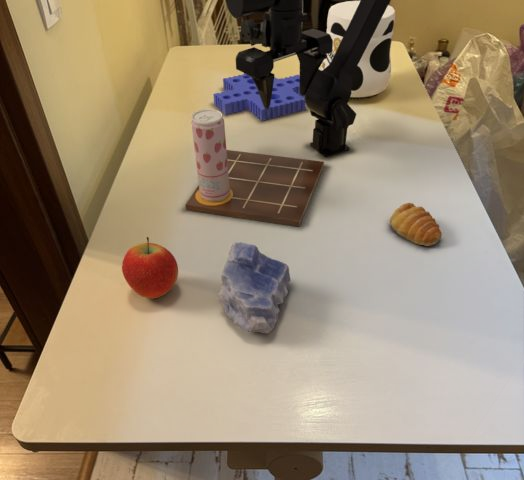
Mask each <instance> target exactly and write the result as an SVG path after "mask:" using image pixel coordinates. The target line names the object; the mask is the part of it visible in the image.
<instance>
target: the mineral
mask: <svg viewBox="0 0 524 480" xmlns="http://www.w3.org/2000/svg"><path fill="white" fill-rule="evenodd" d="M220 279H221V286H220V291H219V292H218V293H217V294H218V295H217V297H218V299H219V302H220V303H221V304H222V306H223V307H224V313H225V315H226V316H227V317H229V319H230V320H232V321H233V323H234V325H237V326H238V327H240V328H241V329H243V330H244V331H245V332H246V333H255V332H258V333H262V334H269V333H270V332H272V330H274V327H275V325H276V323H277V322H278V319H279V314H280V309H279V306H278V305H279V304H280V305H281V304H283V303H284V298H286V297H287V296H288V293H289V291H288V289H287V288H288V285H289V284H290V283H291V281H292V280H291V279H292V278H291V275H290V267H289V265H288V264H287V263H285V262H283V261H280V260H278V259H274V258H272V257H269V256H267V255H266V254H264V253H262V252H261V251H260V250H259V247H258V246H257V245H256V244H251V243H247V242H246V243H245V242H241V241H240V242H232V245H231V246H230V249H229V251H228V256H227V257H226V260H225V263H224V265H223V267H222V271H221V274H220Z"/></svg>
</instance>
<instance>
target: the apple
mask: <svg viewBox="0 0 524 480" xmlns="http://www.w3.org/2000/svg"><path fill="white" fill-rule="evenodd" d="M149 240H150V238H149V236H147V237H146V241H147V242H142V243H138V244H137V243H136V245H133V246H132V247H130V248H129V249H128V250H127V252H126V253H125V255H124V256H123V260H122V263H121V272H122V275H123V277H124V279H125V281H126V283H127V284H128V286H129V287H130V288H131V289H132V290H133V291H134V292H135V293H136V294H138V295H139V296H141V297H143V298H145V299H156V298H157V299H158V298H160V297H162V296H164V295H166V294H167V293H168V292H169V291H171V290H172V288H173V287H174V286H175V284H176V282H177V280H178V278H179V277H178V276H179V266H178V262H177V259H176V257H175V256H174V254H172V253H171V251H170V250H169V249H167V248H166V247H164V246H162V245H161V244H158V243H153V242H150V241H149Z"/></svg>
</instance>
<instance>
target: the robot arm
mask: <svg viewBox="0 0 524 480" xmlns="http://www.w3.org/2000/svg"><path fill="white" fill-rule="evenodd" d="M359 1H360V3H359V5H358V7H357V9H356V11H355V13H354V15H353V18H352V20H351V22H350V24H349V26H348V28H347V30H346V32H345V34H344V36H343V38H342V40H341V42H340V44H339V46H338V49H337V51H336V53H335V55H334V57H333V59H332V61H331V63H330V64H329V65H328V66H327V67H326V68H325V69H323V70H322V71H321V69H320V68H321V65H322V62H323V61H324V59H326V58H327V54H328V53H331V52H332V47H333V40H332V38H331V36H330V34H328V33H327V32H324V31H322V30H320V29H317V28H310V29H307V30H304V31H303V23H305V22H308V19H309V14H308V13H307V12H304V0H225V4H226V7H227V10H228V13H230V15H231V16H232V17H233V18H234V19H241V18H244V17H249V16H253V15H258V14H262V13H263V21H262V22H259V23H256V22H255V19H254V18H250V19H247V20H246V19H245V20H243V21H240V36H241V40H242V41H243V42H244V43H247V42H249V43H250V46H251V47H250V48H247V49H244V50H241V51H238V52H237V54H236V56H235V70H237V71H239V72H241V73H242V74H246V75H249V76H251V78H252V79H253V81H254V83H255V85H256V87H257V90H258V92H259V95H260V98H261V100H262V103H263V106H264V108H266V109H269V107H270V103H271V97H272V90H273V83H274V77H276V76H275V73H273V72H272V71H273V70H274V68H275V67H274V66H275V65H274V64H275V62H278V61H281V60H284V59H287V58H290V57H293V56H296V57H297V60H298V62H299V75H300V94H302V95H305V94H306V95H305V96H304V98H305V100H306V109H308V110H309V114H310V116H311V117H314V118H315V120H314V127H313V130H312V131H313V132H312V142H310V143H309V146H310V148H312V149H314V151H315V152H317V153H318V154H319V155H321V156H322V157H324V158H329V157H333V156H336V155H339V154H342V153H346V152H349V151H350V150H351V147H349V146H348V145H347V135H348V129H349V126H352V125H354V123H355V120H356V117H357V112H356V111H354V109H353V108H352V107H351V106H350V105H349V101H350V100H351V99H350V96H351V89H352V76H353V73H354V71H355V70H356V68H357V66H358V64H359V62H360V60H361V58H362V56H363V54H364V52H365V50H366V48H367V46H368V44H369V42H370V40H371V38H372V36H373V34H374V32H375V30H376V28H377V26H378V24H379V22H380V20H381V18H382V16H383V14H384V12H385V10H386V8H387V6H388V5H390V2H391V1H392V0H359ZM260 43H261V47H264V48H269V50H266V51H264V50H262V49H259V48H257V47H254V46H256V45H257V44H260Z"/></svg>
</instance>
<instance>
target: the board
mask: <svg viewBox="0 0 524 480" xmlns="http://www.w3.org/2000/svg"><path fill="white" fill-rule="evenodd" d="M226 150H227V162H228V175H229V187H230V194H229V195H228V196H227V197H226V198H225V199H224V200H221V201H217V202H211V201H207V200H205V199H204V198H202V197H201V195H200V190H199V185H197V187H196V188H195V190H194V191H193V193H192V194H191V196H190V197H189V199H188V200H187V201H186V203H185V204H184V205H185V210H186V211H192V212H198V213H204V214H210V215H211V214H212V215H217V216H224V217H230V218H236V219H237V218H238V219H243V220H244V219H245V220H250V221H258V222H265V223H271V224H277V225H283V226H290V227H298V228H299V227H300V225H301V223H302V221H303V218H304V216H305V214H306V211H307V208H308V206H309V204H310V202H311V199H312V197H313V194H314V192H315V189H316V187H317V184H318V183H319V180H320V177H321V175H322V172H323V170H324V168H325V161H321V160H313V159H305V158H297V157H289V156H281V155H273V154H265V153H257V152H256V153H255V152H249V151H239V150H231V149H226Z"/></svg>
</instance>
